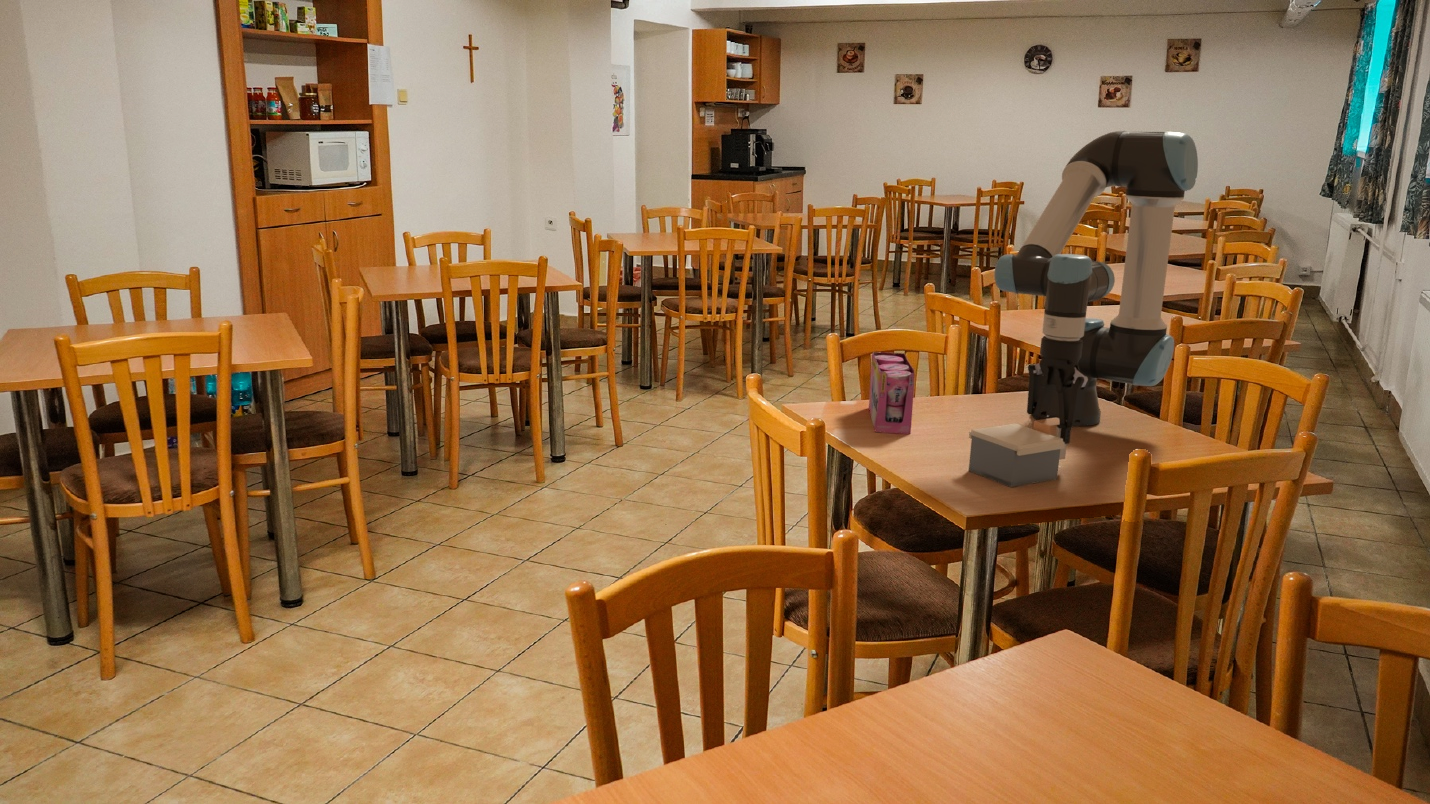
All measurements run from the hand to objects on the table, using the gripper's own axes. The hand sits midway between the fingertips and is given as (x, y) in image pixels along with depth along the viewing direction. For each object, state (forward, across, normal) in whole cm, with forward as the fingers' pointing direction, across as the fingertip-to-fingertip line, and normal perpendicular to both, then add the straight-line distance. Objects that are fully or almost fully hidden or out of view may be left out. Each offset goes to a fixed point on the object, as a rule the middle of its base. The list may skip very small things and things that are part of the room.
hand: (1049, 455), depth 205 cm
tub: (+3, 0, -10) cm, 10 cm away
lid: (-3, 0, -6) cm, 7 cm away
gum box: (+3, -42, -5) cm, 43 cm away
